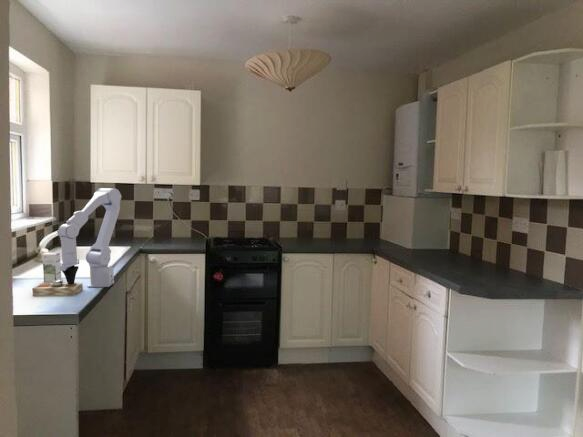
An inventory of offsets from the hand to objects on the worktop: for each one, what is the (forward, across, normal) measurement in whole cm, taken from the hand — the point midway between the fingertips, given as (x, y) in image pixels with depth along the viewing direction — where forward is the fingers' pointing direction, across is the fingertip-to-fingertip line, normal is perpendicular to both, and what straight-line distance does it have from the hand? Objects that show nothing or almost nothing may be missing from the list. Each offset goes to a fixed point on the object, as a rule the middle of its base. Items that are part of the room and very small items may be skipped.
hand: (70, 283), depth 207 cm
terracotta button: (+2, 0, -11) cm, 11 cm away
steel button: (+1, 0, -6) cm, 6 cm away
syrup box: (+4, -15, -14) cm, 21 cm away
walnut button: (+2, 0, 0) cm, 2 cm away
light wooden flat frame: (+4, 0, -6) cm, 7 cm away
